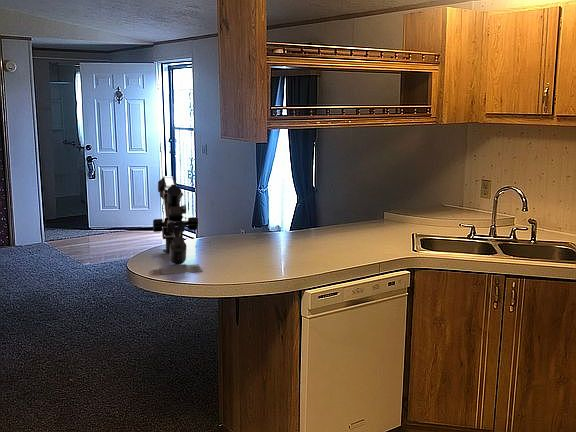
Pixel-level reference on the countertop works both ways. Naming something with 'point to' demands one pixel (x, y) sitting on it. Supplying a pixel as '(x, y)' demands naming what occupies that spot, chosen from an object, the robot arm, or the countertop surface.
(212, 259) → the countertop surface
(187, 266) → the metal sheet
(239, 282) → the countertop surface
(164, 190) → the robot arm
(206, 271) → the countertop surface
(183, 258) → the supplement bottle
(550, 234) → the countertop surface
